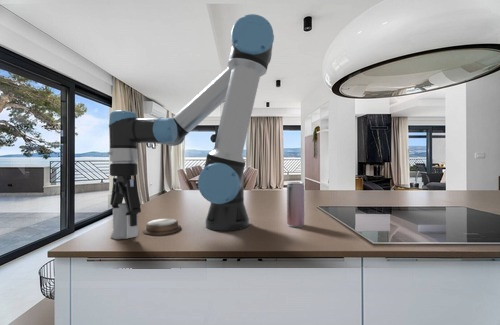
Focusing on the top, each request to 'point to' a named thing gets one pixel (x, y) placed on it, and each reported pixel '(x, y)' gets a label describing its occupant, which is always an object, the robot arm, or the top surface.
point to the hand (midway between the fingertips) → (124, 232)
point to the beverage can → (295, 204)
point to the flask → (121, 223)
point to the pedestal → (161, 227)
